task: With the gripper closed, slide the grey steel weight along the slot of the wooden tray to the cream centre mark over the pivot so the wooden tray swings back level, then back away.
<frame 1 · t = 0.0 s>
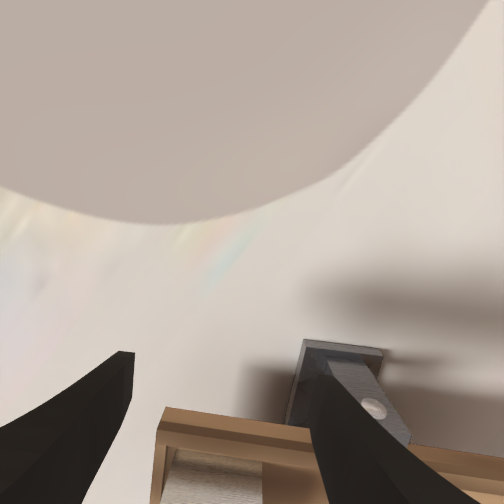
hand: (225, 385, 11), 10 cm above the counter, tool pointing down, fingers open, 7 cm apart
wooden tray: (349, 493, 18), point 6 cm above the counter, hinge at -3.6°, touching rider
stand: (322, 412, 24), on the counter
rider: (214, 483, 18), point 6 cm above the counter, touching wooden tray
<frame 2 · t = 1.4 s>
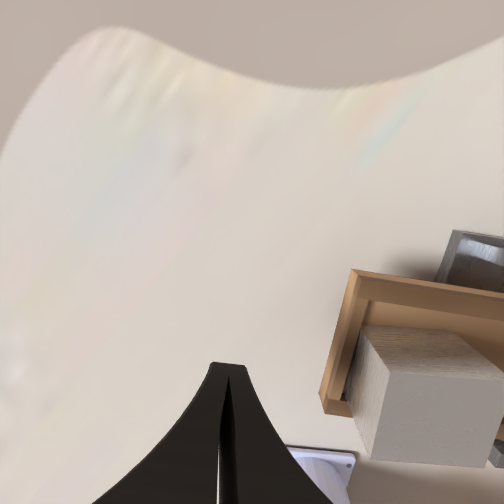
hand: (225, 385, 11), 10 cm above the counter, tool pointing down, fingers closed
stand: (461, 316, 23), on the counter
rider: (395, 362, 16), point 7 cm above the counter, touching wooden tray
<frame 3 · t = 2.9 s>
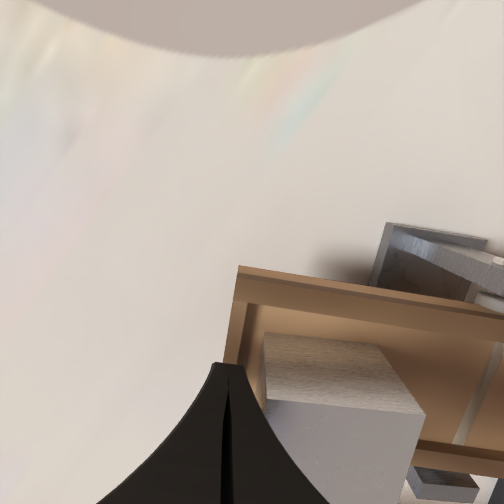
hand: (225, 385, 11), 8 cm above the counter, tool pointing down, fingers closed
wooden tray: (470, 385, 14), point 6 cm above the counter, hinge at -2.9°, touching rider
stand: (400, 320, 20), on the counter
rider: (311, 379, 14), point 7 cm above the counter, touching wooden tray, gripper
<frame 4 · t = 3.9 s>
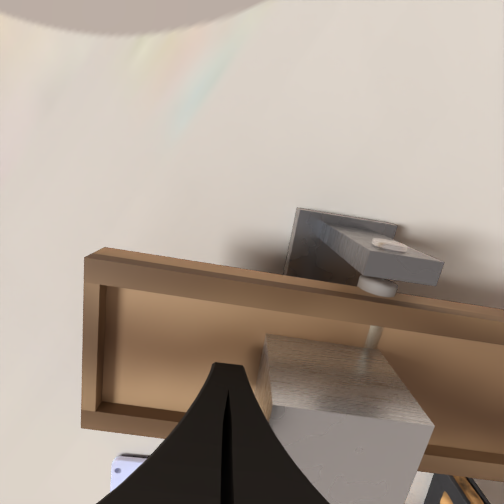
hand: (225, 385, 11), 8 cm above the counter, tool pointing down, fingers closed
wooden tray: (356, 371, 14), point 6 cm above the counter, hinge at -2.0°, touching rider
stand: (320, 309, 20), on the counter
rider: (312, 384, 13), point 7 cm above the counter, touching wooden tray, gripper
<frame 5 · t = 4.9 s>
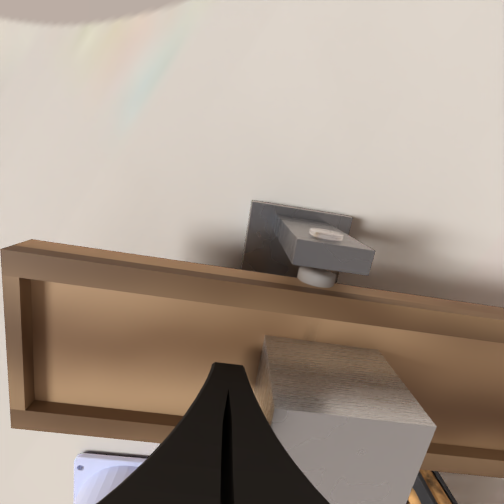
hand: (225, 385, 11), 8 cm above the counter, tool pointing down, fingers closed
wooden tray: (298, 364, 14), point 6 cm above the counter, hinge at -0.6°, touching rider
ammunition clip: (401, 502, 25), on the counter
stand: (280, 303, 20), on the counter
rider: (311, 385, 13), point 7 cm above the counter, touching wooden tray, gripper
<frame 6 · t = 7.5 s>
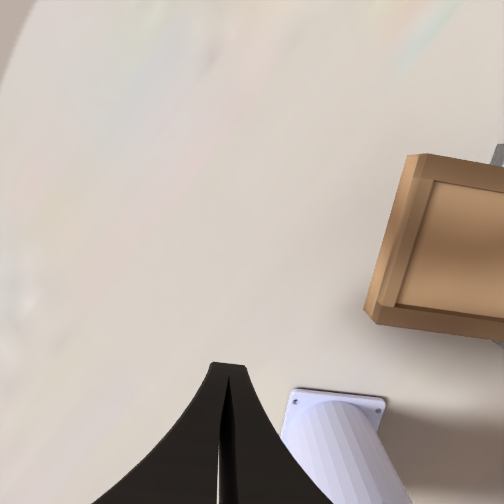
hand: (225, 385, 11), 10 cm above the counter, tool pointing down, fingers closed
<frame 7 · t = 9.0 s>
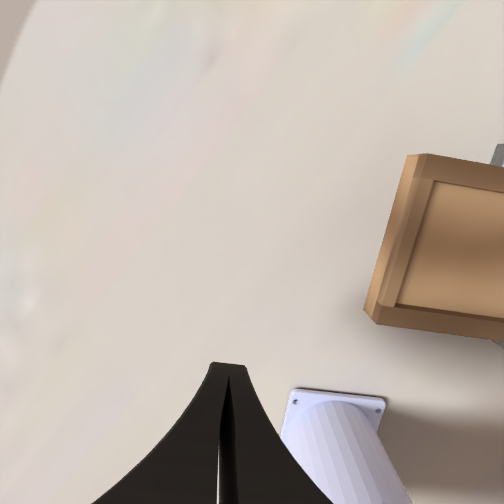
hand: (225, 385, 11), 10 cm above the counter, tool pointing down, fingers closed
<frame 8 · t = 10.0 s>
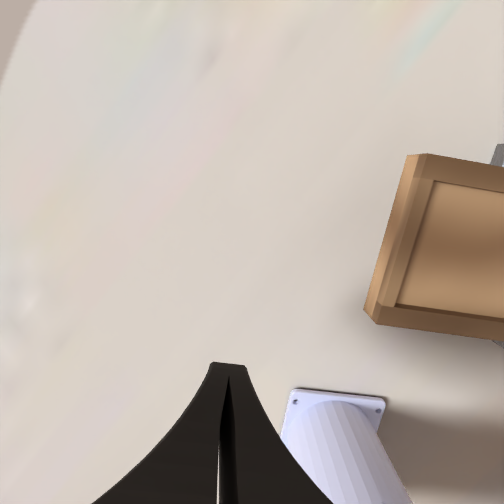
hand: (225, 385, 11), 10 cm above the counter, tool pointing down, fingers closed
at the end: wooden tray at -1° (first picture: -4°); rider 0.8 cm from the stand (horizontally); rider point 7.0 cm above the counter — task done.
